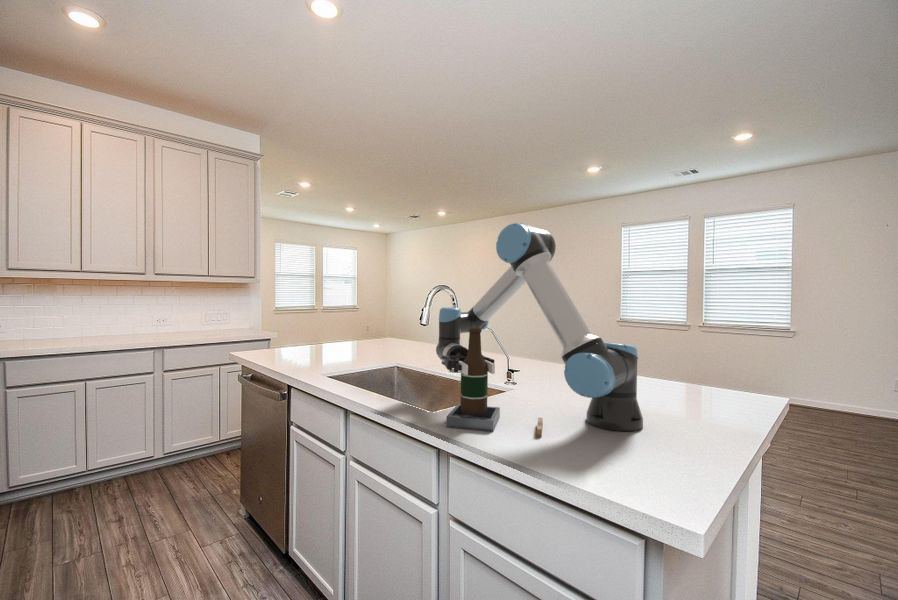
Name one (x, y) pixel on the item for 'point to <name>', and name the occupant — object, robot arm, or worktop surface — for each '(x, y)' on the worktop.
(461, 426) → the keeper
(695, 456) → the worktop surface
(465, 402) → the beer bottle
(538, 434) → the jamb strip
